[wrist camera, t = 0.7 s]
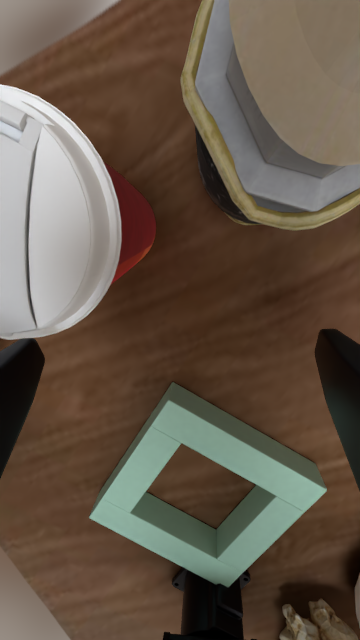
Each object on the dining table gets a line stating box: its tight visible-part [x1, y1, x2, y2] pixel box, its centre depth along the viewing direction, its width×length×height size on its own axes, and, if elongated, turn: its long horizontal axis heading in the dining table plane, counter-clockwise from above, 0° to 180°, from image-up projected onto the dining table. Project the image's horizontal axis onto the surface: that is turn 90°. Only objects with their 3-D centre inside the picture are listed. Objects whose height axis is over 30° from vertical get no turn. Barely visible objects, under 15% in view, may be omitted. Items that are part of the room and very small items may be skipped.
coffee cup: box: [0, 85, 156, 340], centre depth 16 cm, size 8×8×15 cm
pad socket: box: [89, 382, 327, 587], centre depth 28 cm, size 16×16×3 cm
